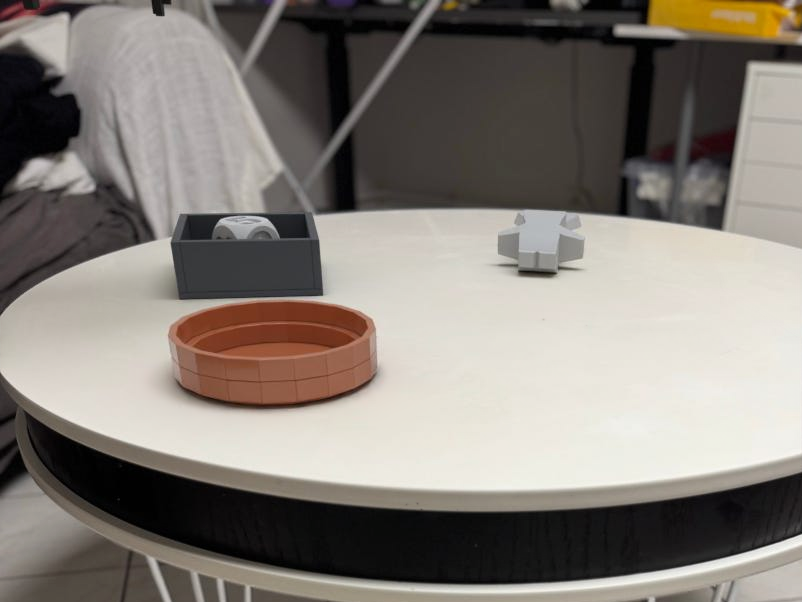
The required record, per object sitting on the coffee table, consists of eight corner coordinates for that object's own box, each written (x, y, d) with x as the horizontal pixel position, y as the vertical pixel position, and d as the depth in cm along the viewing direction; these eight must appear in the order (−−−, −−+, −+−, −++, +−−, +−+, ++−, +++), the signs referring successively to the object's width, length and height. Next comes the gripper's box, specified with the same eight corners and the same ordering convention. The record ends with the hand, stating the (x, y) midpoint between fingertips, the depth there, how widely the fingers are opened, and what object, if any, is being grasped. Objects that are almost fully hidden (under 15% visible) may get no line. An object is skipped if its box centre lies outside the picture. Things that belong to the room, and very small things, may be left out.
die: (253, 265, 95) (247, 213, 93) (285, 273, 93) (280, 220, 90) (214, 273, 92) (207, 220, 89) (246, 282, 90) (239, 227, 87)
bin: (179, 299, 86) (170, 242, 83) (187, 265, 97) (179, 213, 94) (323, 295, 89) (319, 239, 86) (315, 262, 100) (312, 212, 97)
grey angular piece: (492, 234, 95) (509, 192, 106) (491, 283, 98) (508, 237, 109) (583, 239, 94) (590, 196, 105) (579, 289, 97) (586, 242, 108)
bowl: (169, 413, 63) (160, 363, 61) (182, 346, 75) (175, 302, 73) (387, 403, 66) (385, 354, 63) (366, 339, 78) (364, 296, 76)
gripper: (-106, -316, 58) (-32, 7, 68) (174, -285, 62) (206, 19, 72) (-73, -287, 64) (-10, 7, 74) (180, -260, 68) (209, 17, 78)
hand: (96, 12), depth 73 cm, fingers open, 9 cm apart
